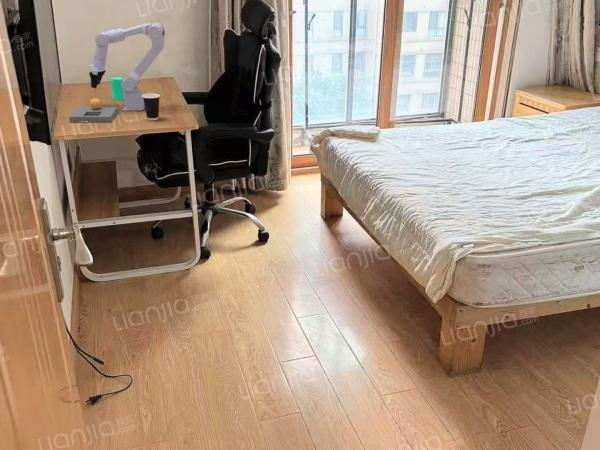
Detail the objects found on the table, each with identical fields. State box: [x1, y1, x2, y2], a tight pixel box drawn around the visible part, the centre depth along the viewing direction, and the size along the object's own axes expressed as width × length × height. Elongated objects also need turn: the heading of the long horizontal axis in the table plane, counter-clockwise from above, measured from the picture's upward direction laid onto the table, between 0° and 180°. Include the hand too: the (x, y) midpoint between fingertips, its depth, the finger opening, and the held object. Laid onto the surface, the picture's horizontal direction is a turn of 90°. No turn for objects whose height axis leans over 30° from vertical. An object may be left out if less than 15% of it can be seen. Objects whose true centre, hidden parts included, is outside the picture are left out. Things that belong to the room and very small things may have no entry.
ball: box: [89, 97, 102, 109], centre depth 284 cm, size 5×5×5 cm
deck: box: [69, 106, 119, 123], centre depth 281 cm, size 18×18×2 cm
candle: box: [110, 75, 124, 101], centre depth 311 cm, size 6×6×12 cm
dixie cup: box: [142, 92, 161, 121], centre depth 280 cm, size 8×8×11 cm
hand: (95, 85), depth 291 cm, fingers open, 7 cm apart
